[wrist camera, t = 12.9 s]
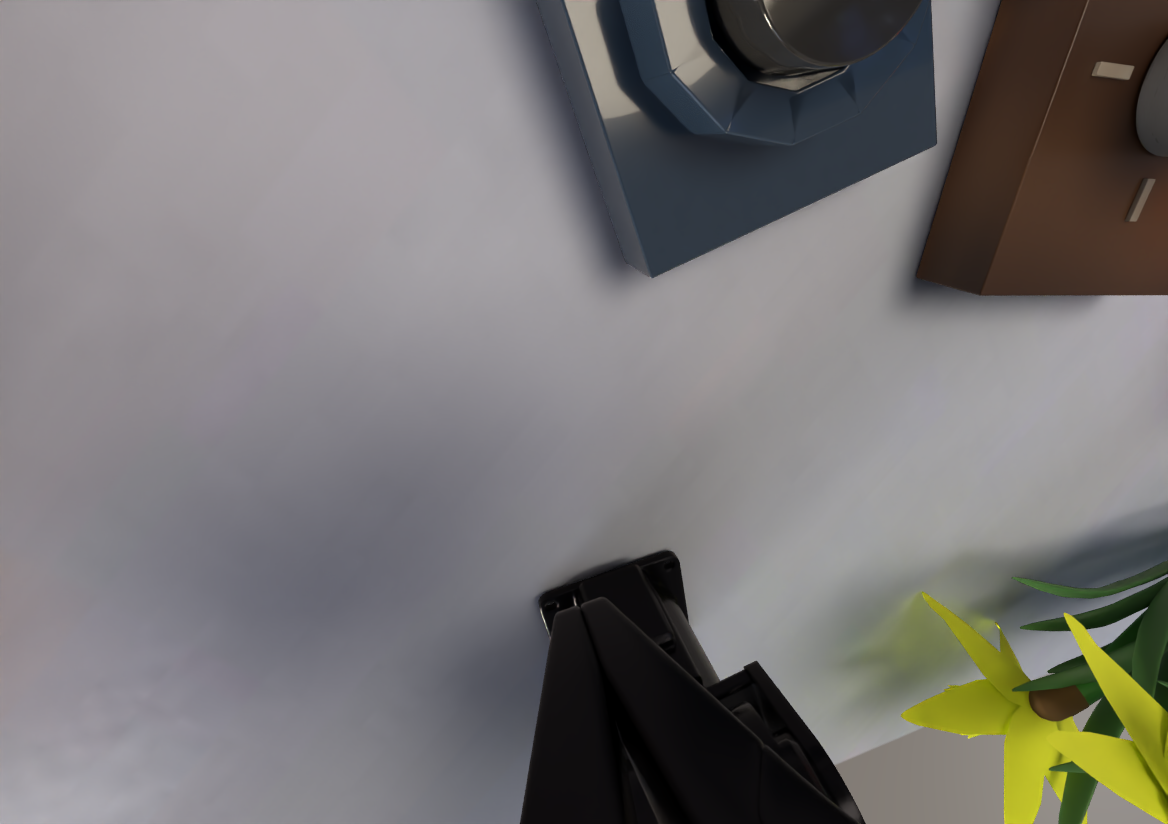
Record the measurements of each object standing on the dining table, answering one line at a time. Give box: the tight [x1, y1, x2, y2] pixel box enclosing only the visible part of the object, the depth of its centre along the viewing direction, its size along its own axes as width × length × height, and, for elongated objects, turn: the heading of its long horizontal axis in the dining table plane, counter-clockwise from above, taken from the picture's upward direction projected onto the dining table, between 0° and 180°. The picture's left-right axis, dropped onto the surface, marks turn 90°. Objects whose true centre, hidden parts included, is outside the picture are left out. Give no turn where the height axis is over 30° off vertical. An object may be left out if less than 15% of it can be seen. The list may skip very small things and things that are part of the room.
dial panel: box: [916, 0, 1168, 296], centre depth 19 cm, size 14×11×3 cm
